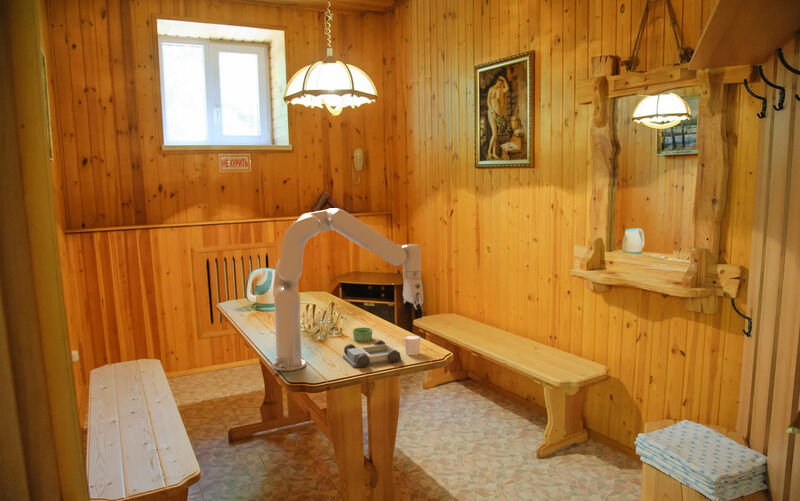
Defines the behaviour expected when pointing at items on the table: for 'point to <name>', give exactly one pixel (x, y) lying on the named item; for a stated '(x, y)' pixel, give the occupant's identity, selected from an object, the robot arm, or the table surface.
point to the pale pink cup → (412, 344)
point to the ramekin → (362, 334)
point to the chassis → (371, 354)
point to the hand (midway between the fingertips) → (412, 315)
